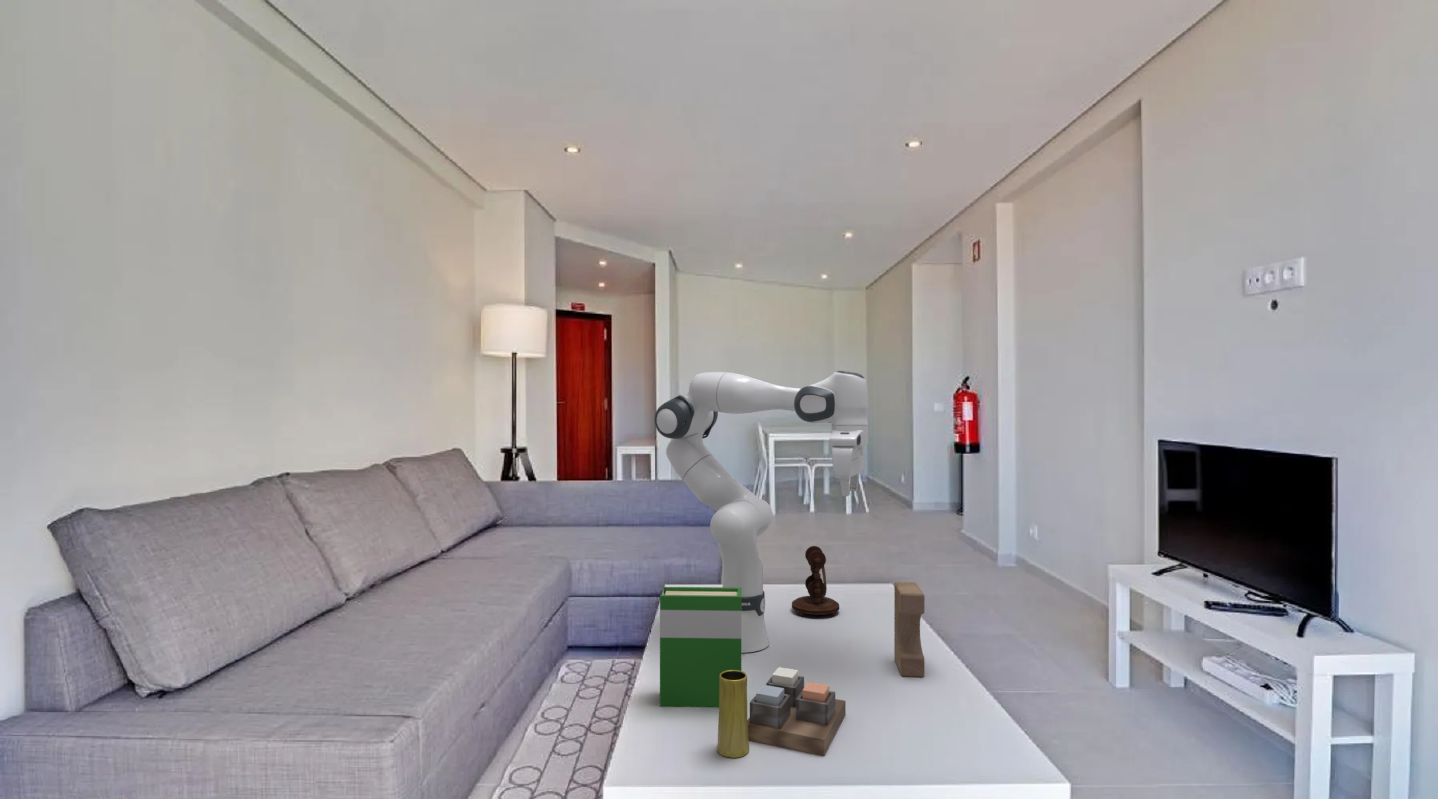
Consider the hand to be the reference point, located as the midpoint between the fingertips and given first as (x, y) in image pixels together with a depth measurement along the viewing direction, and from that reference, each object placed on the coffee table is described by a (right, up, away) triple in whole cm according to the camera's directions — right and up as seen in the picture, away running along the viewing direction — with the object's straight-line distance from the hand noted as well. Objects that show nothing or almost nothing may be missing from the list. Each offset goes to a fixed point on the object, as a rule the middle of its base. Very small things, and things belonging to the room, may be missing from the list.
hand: (849, 493), depth 168 cm
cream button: (-18, -38, -22) cm, 48 cm away
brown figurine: (-2, -44, +47) cm, 64 cm away
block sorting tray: (-16, -44, -29) cm, 55 cm away
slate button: (-22, -38, -32) cm, 54 cm away
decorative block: (+15, -44, +2) cm, 46 cm away
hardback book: (-36, -44, -16) cm, 59 cm away
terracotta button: (-12, -38, -30) cm, 50 cm away
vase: (-29, -44, -38) cm, 65 cm away
